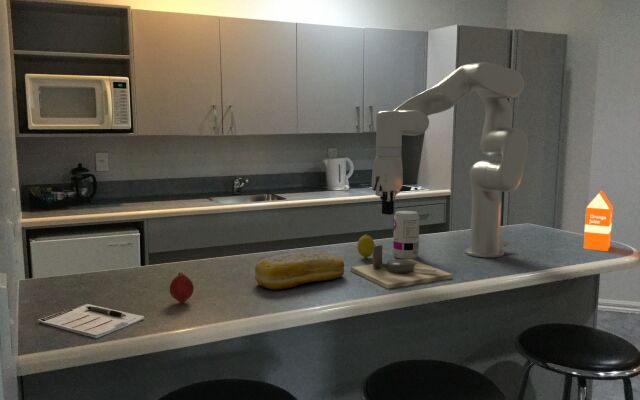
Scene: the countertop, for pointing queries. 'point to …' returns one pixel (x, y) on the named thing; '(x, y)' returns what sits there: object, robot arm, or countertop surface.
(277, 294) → the countertop surface
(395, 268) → the dark grey handled piece
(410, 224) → the supplement can
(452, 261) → the countertop surface
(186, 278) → the onion
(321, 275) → the bread
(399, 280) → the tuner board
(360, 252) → the lemon
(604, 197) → the orange juice
